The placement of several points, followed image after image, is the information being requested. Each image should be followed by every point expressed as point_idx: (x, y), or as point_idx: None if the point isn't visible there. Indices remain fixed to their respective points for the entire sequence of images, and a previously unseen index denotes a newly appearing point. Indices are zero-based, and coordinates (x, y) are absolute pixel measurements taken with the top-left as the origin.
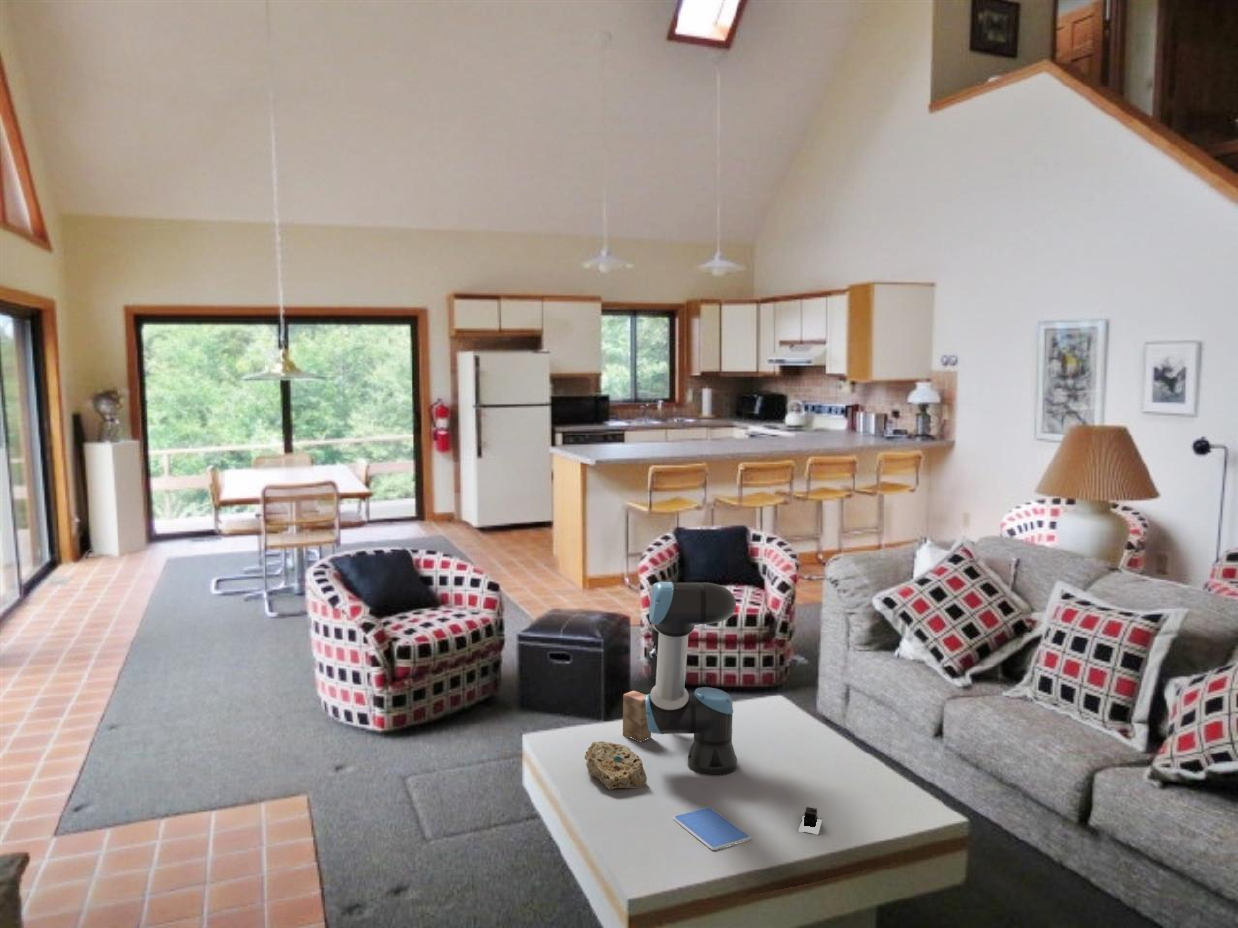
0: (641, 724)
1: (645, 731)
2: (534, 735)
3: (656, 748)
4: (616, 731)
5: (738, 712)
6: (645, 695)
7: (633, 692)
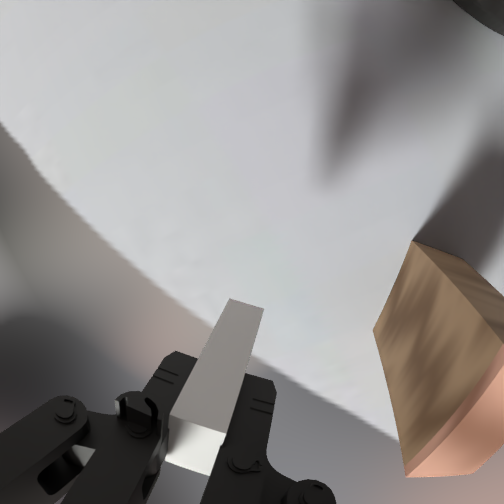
0: (495, 290)
1: (456, 264)
2: None
3: (491, 178)
4: None
5: (28, 69)
6: (488, 397)
7: (440, 463)
